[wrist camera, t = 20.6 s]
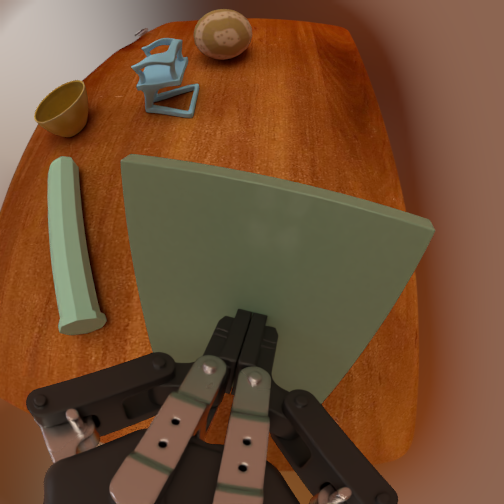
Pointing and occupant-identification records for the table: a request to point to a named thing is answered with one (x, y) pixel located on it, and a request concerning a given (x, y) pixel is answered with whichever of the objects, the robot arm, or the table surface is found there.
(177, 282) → the lid
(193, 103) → the chair
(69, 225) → the green rod
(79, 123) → the flower pot
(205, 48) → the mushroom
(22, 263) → the table surface
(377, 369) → the table surface
